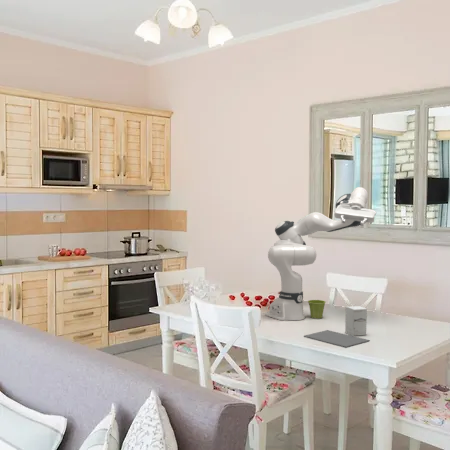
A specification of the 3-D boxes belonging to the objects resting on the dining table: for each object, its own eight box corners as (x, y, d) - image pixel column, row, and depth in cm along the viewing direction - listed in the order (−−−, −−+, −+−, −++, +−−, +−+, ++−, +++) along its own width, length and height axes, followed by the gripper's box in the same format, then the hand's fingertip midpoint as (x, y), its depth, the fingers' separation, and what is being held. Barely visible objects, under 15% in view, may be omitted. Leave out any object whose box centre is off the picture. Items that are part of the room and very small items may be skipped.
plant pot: (328, 318, 292) (329, 302, 291) (313, 320, 288) (313, 303, 288) (319, 315, 300) (319, 299, 300) (304, 316, 297) (304, 300, 296)
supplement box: (352, 336, 254) (353, 309, 254) (344, 332, 262) (345, 306, 261) (366, 335, 256) (367, 308, 256) (358, 331, 264) (359, 305, 263)
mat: (303, 336, 253) (303, 335, 253) (327, 331, 264) (327, 330, 264) (345, 347, 235) (345, 346, 235) (369, 341, 246) (369, 340, 246)
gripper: (376, 215, 289) (372, 231, 279) (337, 210, 295) (332, 225, 285) (377, 205, 285) (373, 221, 275) (337, 200, 292) (332, 215, 281)
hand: (352, 223), depth 280 cm, fingers open, 8 cm apart
